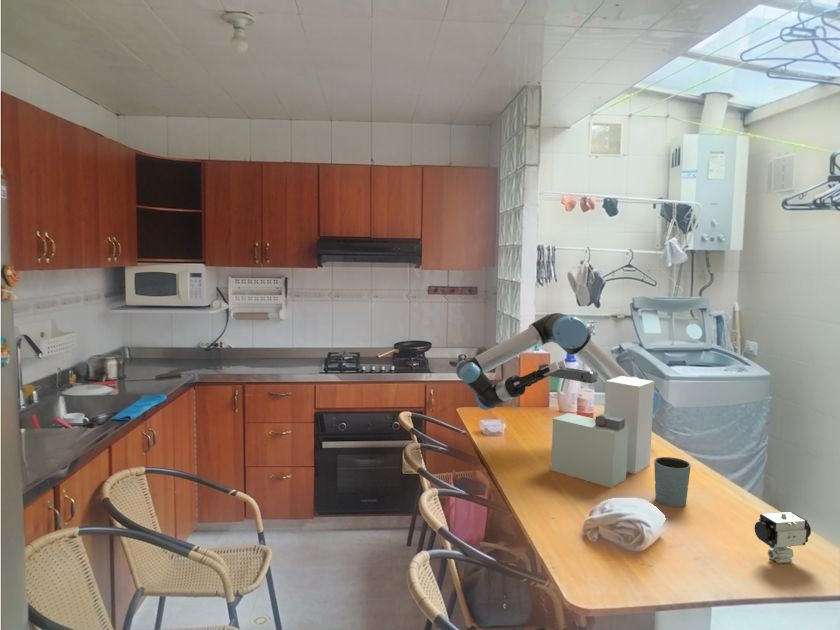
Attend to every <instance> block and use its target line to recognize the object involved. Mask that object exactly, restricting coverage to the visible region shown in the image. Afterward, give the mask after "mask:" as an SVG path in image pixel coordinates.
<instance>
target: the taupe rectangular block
mask: <svg viewBox="0 0 840 630" xmlns="http://www.w3.org/2000/svg"><path fill="white" fill-rule="evenodd" d="M604 384H605V386H604V387H605V388H604V408H603V409H604V410H603V414H609V415H611V416H613V417H618V418H623V419H625V426H629V427H628V447H627V468H626V473H629V474H634V475H636V474H637V473H639V472H642V470H644V469H646V468H647V467H649V466H651V450H652V449H651V448H652V430H653V397H654V390H655V381H654V380H650V379H644V378H643V379H642V378H639V379H637V378H631V377H625V376H619V377H616V378H613V379H610V380H607V381H606V383H605V382H604Z"/></svg>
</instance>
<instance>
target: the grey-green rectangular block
mask: <svg viewBox="0 0 840 630" xmlns="http://www.w3.org/2000/svg"><path fill="white" fill-rule="evenodd" d="M628 427H629V426H625V419H623V418H618V417H613V416H611V415H609V414H604V413H602V414H601V413H600V414H598V415H596V416H595V418H593V417H588V416H584V415H579V414H574V413H570V412H566V413H564V414H562V415H558V416H555V417H553V418H552V432H551V433H552V434H551V436H552V437H551V459H550V461H551V462H550V465H551V466H550V470H551V471H553V472H557V473H561V474H563V475H566V476H570V477H573V478H577V479H579V480H584V481H587V482H591V483H593V484H597V485H600V486H603V487H607V488H611V489H613V488H614V487H616V486H618V485H620V484H621V483H623V482H624V481H626V480H627V472H626V468H627V447H628Z"/></svg>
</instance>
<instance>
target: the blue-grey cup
mask: <svg viewBox="0 0 840 630" xmlns="http://www.w3.org/2000/svg"><path fill="white" fill-rule="evenodd" d="M653 462H654V463H653V464H654V482H655V483H654V488H655V490H654V491H655V501H656V502H657V503H659V504H661V505H664V506H666V507H670V508H682V507H685V506H686V504H687V501H688V500H687V498H688V490H689V482H690V473H691V467H692V466H691V463H690V462H689V461H687V460H684V459H682V458H676V457H671V456H669V457H668V456H661V457H660V456H659V457H657V458H655V459H654V460H653Z"/></svg>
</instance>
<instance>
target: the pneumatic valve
mask: <svg viewBox="0 0 840 630" xmlns="http://www.w3.org/2000/svg"><path fill="white" fill-rule="evenodd" d="M754 533H755V535H756V537H757V538H758V540H760V541H761V542H763V543H764V544H766V545H767V546H769V549H768V550H767V556H768V557H769V558H770V560H773V561H775V562H776V563H777V564H790V563H792V561H793V559H792V558H793V557H794V550H793V549H792V547H798V546H799V547H800V546H806V543H808V541H809V537H810V536H811V533H812V530H811V526H810V524H809V522H808V520H807V519H805V518H803V517H801V516H800V515H799V514H797V513H795V512H777V513H762V514H759V519H758V521H757V522H755V524H754Z"/></svg>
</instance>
